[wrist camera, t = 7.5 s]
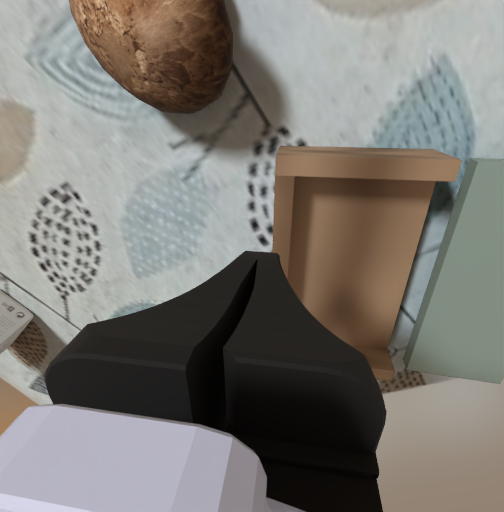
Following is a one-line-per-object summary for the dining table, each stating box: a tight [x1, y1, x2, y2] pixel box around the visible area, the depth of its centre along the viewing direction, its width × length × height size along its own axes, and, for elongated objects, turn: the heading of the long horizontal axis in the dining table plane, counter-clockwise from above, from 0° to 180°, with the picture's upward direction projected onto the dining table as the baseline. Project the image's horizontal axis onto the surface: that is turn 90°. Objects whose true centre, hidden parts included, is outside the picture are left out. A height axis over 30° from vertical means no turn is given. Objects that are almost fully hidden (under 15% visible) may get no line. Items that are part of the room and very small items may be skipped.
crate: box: [272, 146, 462, 381], centre depth 20 cm, size 9×15×4 cm, turn 0°
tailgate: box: [403, 158, 504, 384], centre depth 18 cm, size 1×15×6 cm
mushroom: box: [69, 0, 233, 114], centre depth 14 cm, size 8×8×6 cm
